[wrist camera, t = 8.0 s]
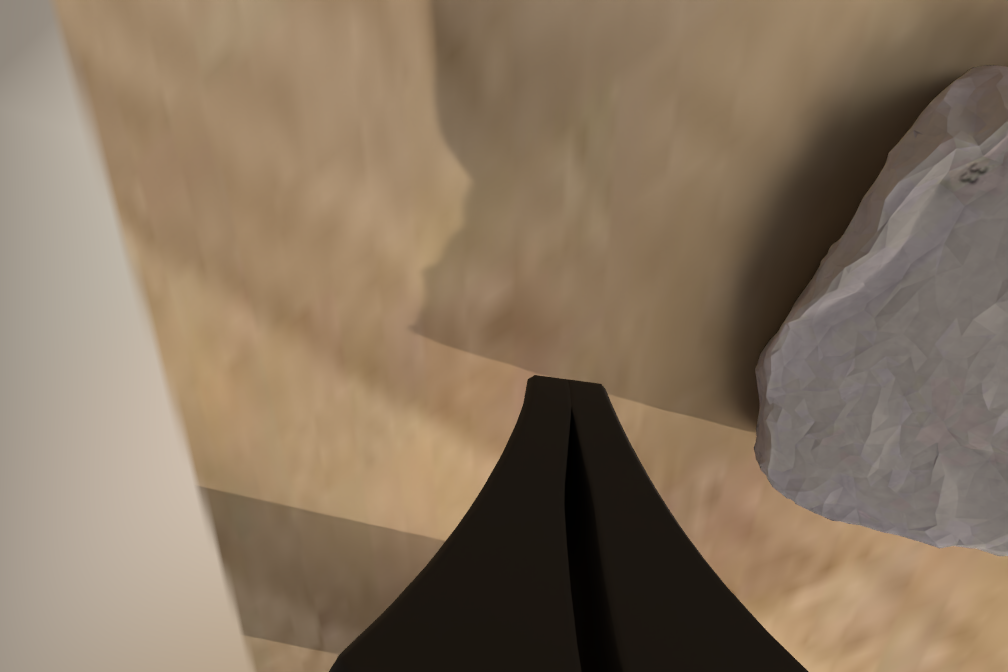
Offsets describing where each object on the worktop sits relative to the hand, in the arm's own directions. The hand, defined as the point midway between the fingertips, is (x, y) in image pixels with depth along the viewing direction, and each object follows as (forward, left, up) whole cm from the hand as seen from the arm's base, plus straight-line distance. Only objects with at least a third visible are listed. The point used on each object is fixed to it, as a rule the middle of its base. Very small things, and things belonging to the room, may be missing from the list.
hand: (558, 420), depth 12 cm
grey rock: (+1, -10, -6) cm, 12 cm away
